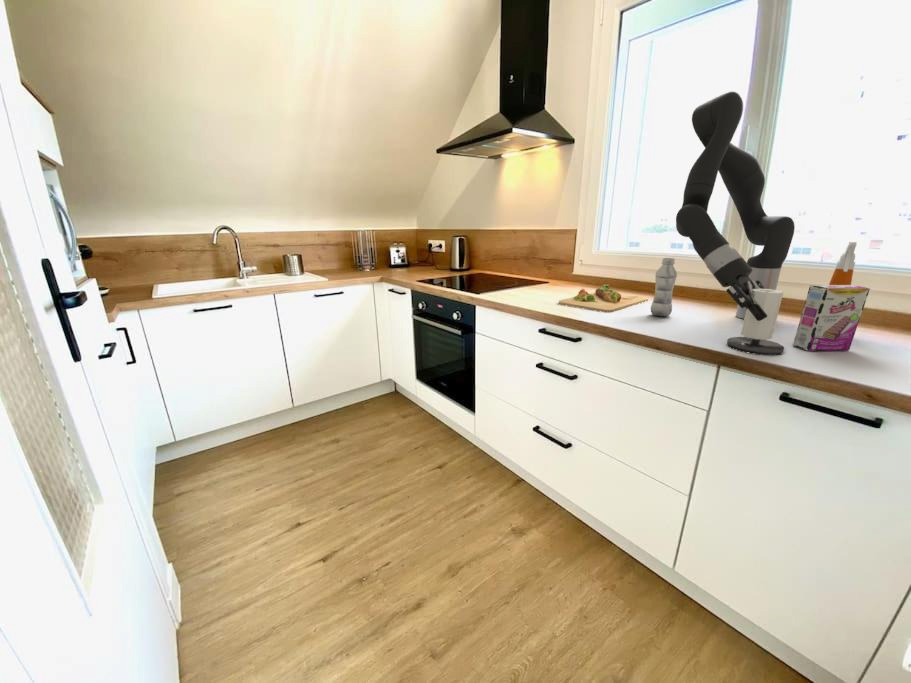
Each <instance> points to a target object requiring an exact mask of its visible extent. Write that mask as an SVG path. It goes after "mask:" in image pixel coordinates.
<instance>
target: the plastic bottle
mask: <svg viewBox="0 0 911 683" xmlns="http://www.w3.org/2000/svg"><path fill="white" fill-rule="evenodd" d="M675 260H676V258H674V257H673V258H672V257H663V258H662V261H661V266H660V267H659V268H658V269H657V270H656V272H655V274H654V275H655V290H654V297H653V300H652V303H651V306H650V313H651V314H652V315H654V316H656V317H669V316H670V315H671V314H672V311H673V291H674V288H675V287H674V286H675V284H676V281H677V280H676V279H677V277H678V272H677V269H676V268H675V266H674V265H675V264H676V263H675Z"/></svg>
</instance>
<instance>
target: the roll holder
mask: <svg viewBox="0 0 911 683" xmlns="http://www.w3.org/2000/svg"><path fill="white" fill-rule="evenodd" d="M726 343H727V345H728V346H727V345H726V346H727V347H729V348H730V347H731V349H733V348H734V349H733V350H735V349H737V350H736V351H739V350H740V351H739V352H742V351H744V352H743V353H747V352H749V353H748V354H752V353H755V354H754V355H760V354H763V355H762V356H779V354H780V355H782V354H784V350H785V346H784V345H783V344H781V343H778V342H775V341H772V340H770V339H769V340H761V339H753V338H748V337H745V336H732V337H728V338H727V339H726Z"/></svg>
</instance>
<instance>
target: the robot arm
mask: <svg viewBox="0 0 911 683" xmlns="http://www.w3.org/2000/svg"><path fill="white" fill-rule="evenodd" d="M743 111H744V102H743V99H742V97H741V95H740V93H738V92H736V91H733V90H732V91H727V92H724V93H722V94H720V95H718V96H716V97H714V98H712V99H710V100H708V101H705V102H704V103H702V104H700V105H698V106H697V107H696V108H695V109H694V110H693V113H692V115H691V123H692V127H693V130H694V132H695V134H696V136H697V137H698V139H699V141H700V143H701V144H702V145H703V147H704V150H702V152H701V154H700V155H699V156H698V158H697V159H696V160H695V162H694V164H693V165H692V166H691V169H690V170H689V173H688V176H687V178H686V179H687V180H686V183H685V187H684V190H683V198H682V200H683V201H682V205H681V208H680V209H679V210H678V212H677V214H676V218H675V228H676V231H677V233H678V234H679V235H680V236H682V237H685V238H689V239H690V241H691V243H692V246H693V249H694V251H695V252H696V254H697V255H698V256H699V257H700V259H701V260H702V261H703V262H704V264H705V266H706V268H707V269H708V270H709V272H710V273H711V274H712V276H713V277H714V278H715V279H716V281H717V282H718V283H719V284H720V285H721V287H722V288H726V292H727V294H728V295H729V296H730V297H731V298H732V299H733V301H734V302H736V304H737V307H736V312H735V317H737V318H740V319H743V320H744V318H745V313H746V309H749V311H750V312H751V313H752V314H753V316H754V317H755V318H756V319H757V320H758V321H760V320H763V319H764V318H766V317H767V314H766V313H765V312H764V311H763V309H762V308H761V307H760V306H759V305H758V304H757V302H756V300H755V299H754V292H753V289H771V290H777V287H778V283H779V280H780V274H781V270H782V267H783V264H784V262H785V261H786V259H787V257H788V253H789V250H790V247H791V244H792V241H793V237H794V235H795V226H796V225H795V222H794V220H793V219H792V217H790V216H786V215H785V216H783V215H781V216H779V215H778V216H776V215H773V216H769V215H767V214H766V212H765V210H764V209H763V205H762V203H761V202H762V201H761V199H762V195H763V191H764V188H765V183H766V182H765V181H766V180H765V174H764V172H763V170H762V168H761V165H760V163H759V161H758V160H757V158H756V157H755V156H754V155H753V154H751V153H749V152H748V151H746V150H744V149H742V148H740V147H738V146H737V145H734V143H732V139H733V137H734V135H735V133H736V131H737V128H738V126H739V124H740V123H741V119H742V117H743ZM718 173H719V175H720V177H721V179H722V181H723V183H724V186H725V189H726V190H727V191H728V194H729V195H730V197H731V199H732V202H733V204H734V206H735V208H736V211H737V212H738V214H739V217H740V220H741V224H742V227H743V230H744V233H745V236H746V238H747V240H748V241H749V242H750V244H752V245H755V246H761V247H763V249H762V251H761V252H760V253H758V254H757V255H754V256H751V257H748V259H747V261H746V260H745V259H744V258H743V257H742V255H741V254H740V253H739V252H738V251H737V249H736V248H734V247H733V246H732V245H731V244H730V243H729V242H728V240H727V239H726V238H725V237H724V236H723V235H722V234H721V233H720V231H719V230H718V229H717V226H716V225H715V223H714V222H713V220H712V218H711V217H710V215H709V213H708V208H709V202H710V200H711V197H712V195H713V192H714V187H715V185H716V184H715V183H716V180H717V176H718ZM756 304H757V305H756ZM778 314H779V312H778Z"/></svg>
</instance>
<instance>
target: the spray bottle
mask: <svg viewBox="0 0 911 683" xmlns="http://www.w3.org/2000/svg"><path fill="white" fill-rule="evenodd" d="M856 247H857V241H855V242H854V241H853V242H852V241H850V242H849V243H848V244H847V247H846V248H845V251H844V252H843V253H842V254H841V255H840V257H839V261H837V264H836V266H835V269H834V271H833V274H832V276H831V278H830V281H829V283H828V285H852V281H853V274H854V268H855V265H856V261H855V259H856V254H855V251H856Z"/></svg>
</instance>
